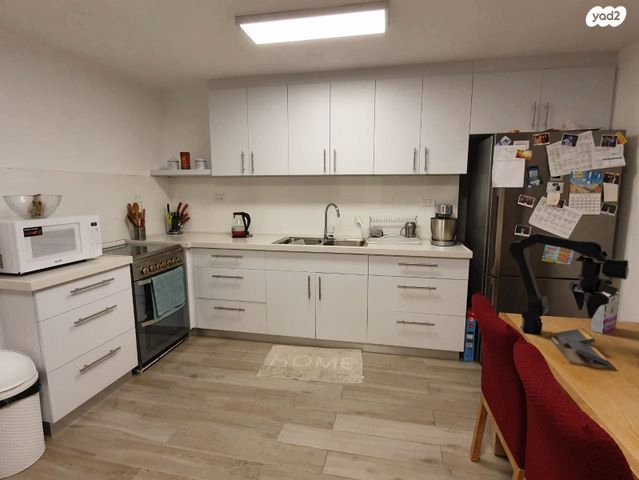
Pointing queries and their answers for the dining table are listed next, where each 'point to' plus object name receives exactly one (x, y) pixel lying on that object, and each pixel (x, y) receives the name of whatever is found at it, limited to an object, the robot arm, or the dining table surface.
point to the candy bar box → (606, 315)
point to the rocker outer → (586, 350)
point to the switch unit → (579, 356)
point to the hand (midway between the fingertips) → (585, 313)
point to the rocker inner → (575, 336)
